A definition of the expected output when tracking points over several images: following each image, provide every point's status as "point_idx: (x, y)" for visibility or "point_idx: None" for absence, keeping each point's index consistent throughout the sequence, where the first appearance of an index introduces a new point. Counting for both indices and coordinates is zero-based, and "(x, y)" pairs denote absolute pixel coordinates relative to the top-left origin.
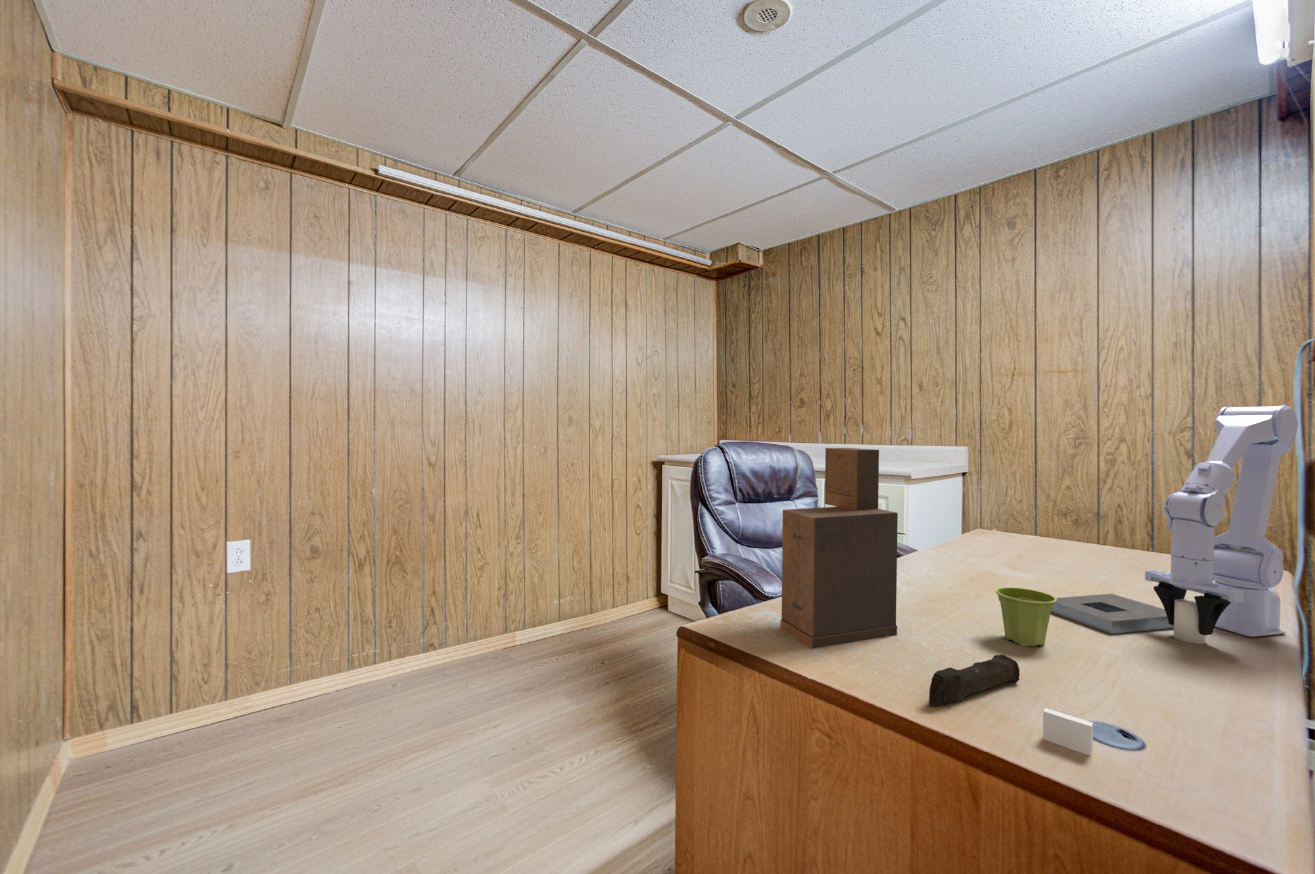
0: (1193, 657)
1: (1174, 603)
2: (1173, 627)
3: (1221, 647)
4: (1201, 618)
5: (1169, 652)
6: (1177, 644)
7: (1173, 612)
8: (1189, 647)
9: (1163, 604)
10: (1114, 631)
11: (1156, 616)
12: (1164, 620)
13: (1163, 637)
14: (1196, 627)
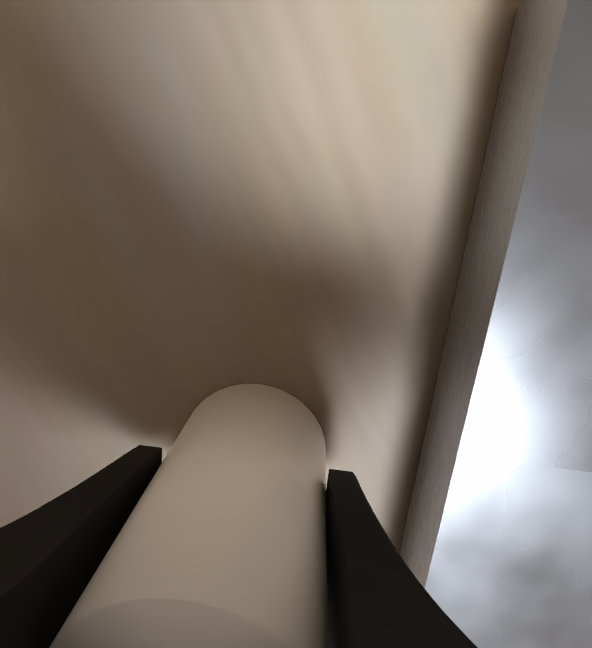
0: (34, 121)
1: (305, 615)
2: None
3: None
4: (69, 508)
5: (130, 53)
6: (220, 288)
7: (335, 555)
8: (166, 302)
9: (407, 578)
10: (518, 39)
11: (457, 520)
12: (423, 543)
13: (328, 343)
14: (161, 467)
